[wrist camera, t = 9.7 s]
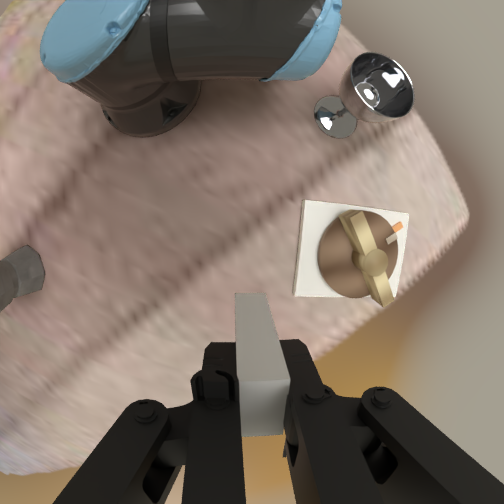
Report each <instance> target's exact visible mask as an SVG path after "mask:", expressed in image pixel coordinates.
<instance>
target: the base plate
mask: <svg viewBox="0 0 504 504" xmlns="http://www.w3.org/2000/svg"><path fill="white" fill-rule="evenodd" d="M349 209H353V210H364V211H371V212H374V213H377V214H379V215H381V216H382V217H383V218H385V219H386V220H387V221H388V222H389V224H390V225H391V226H392V228H393V230H394V232H396V235H397V237H398V239H397V242H398V258H397V263H396V266H395V269H394V271H393V273H392V275H391V277H390V278H389V280H388V281H389V284H390V287H391V290H392V294H393V297H396V292H397V288H398V283H399V278H400V273H401V267H402V262H403V256H404V250H405V243H406V236H407V228H408V220H409V214H407V213H401V212H395V211H388V210H382V209H375V208H368V207H361V206H353V205H346V204H338V203H329V202H321V201H312V200H303V201H302V213H301V223H300V234H299V244H298V253H297V262H296V271H295V280H294V288H293V294H294V296H305V297H345V296H342V295H340V294H338V293H337V292H335V291H334V290H333V289H332V288H331V287H330V286H329V285H328V284H327V283H326V282H325V280H324V279H323V277H322V275H321V273H320V270H319V266H318V247H319V243H320V240H321V238H322V235H323V233H324V232H325V230H326V228H327V227H328V226H329V225H330V223H331V222H332V221H333V220H335V219H336V218H337V217H339V216H338V215H340V214H342V213H344V212H345V211H347V210H349ZM366 297H371V295H369V296H366Z"/></svg>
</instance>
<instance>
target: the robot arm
mask: <svg viewBox="0 0 504 504" xmlns="http://www.w3.org/2000/svg"><path fill="white" fill-rule="evenodd" d="M341 7H342V0H66V1H65V2H64V3H63V4H62V5H61V6H60V7H59V8H58V9H57V11H56V12H55V13H54V15H53V16H52V18H51V19H50V21H49V23H48V25H47V27H46V29H45V31H44V33H43V36H42V40H41V44H40V57H41V61H42V63H43V65H44V66H45V68H46V69H47V70H49V71H50V72H51V73H53V74H54V75H55V76H56V77H57V79H58V80H59V81H60V82H63V83H67V84H69V85H70V86H72V87H74V88H75V89H77V90H79V91H81V92H82V93H84V94H86V95H87V96H89V97H91V98H92V99H94V100H95V101H97V102H99V103H100V105H101V107H102V110H103V112H104V115H105V117H106V118H107V120H108V121H109V122H110V124H111V125H112V126H114V127H115V128H116V129H118V130H120V131H122V132H123V133H125V134H128V135H131V136H135V137H150V136H155V135H159V134H161V133H164V132H166V131H168V130H170V129H172V128H173V127H175V126H176V125H178V124H179V123H180V122H181V121H183V120H184V119H185V118H186V117H187V115H188V114H189V113H190V112H191V110H192V109H193V107H194V106H195V104H196V102H197V99H198V97H199V93H200V86H201V82H200V80H209V79H258V80H259V81H263V82H266V81H271V80H292V81H297V80H302V79H305V78H307V77H308V76H311V75H313V74H314V73H315V72H316V71H317V70H318V69H319V68H320V67H321V66H322V65H323V63H324V62H325V60H326V59H327V57H328V55H329V53H330V52H331V49H332V47H333V45H334V43H335V40H336V37H337V34H338V31H339V27H340V23H341V15H340V14H339V12H340V10H341ZM235 334H236V342H211V343H210V344H209V345H208V346H207V347H206V349H205V352H204V359H203V366H202V370H200V371H198V372H197V373H196V374H194V375H193V377H192V379H191V387H192V394H193V401H191V402H190V403H188V404H186V405H183V406H179V407H174V408H166V407H165V406H164V405H163V404H162V403H160V402H158V401H156V400H150V399H144V400H138V401H136V402H133V403H131V404H130V405H129V406H128V407H127V408H126V409H125V410H124V411H123V413H122V414H121V415H120V416H119V418H118V419H117V420H116V422H115V423H114V424H113V426H112V427H111V428H110V429H109V431H108V432H107V433H106V435H105V436H104V437H103V438H102V440H101V441H100V442H99V444H98V445H97V446H96V448H95V449H94V450H93V451H92V453H91V454H90V455H89V457H88V458H87V459H86V461H85V462H84V463H83V464H82V466H81V467H80V468H79V470H78V471H77V472H76V474H75V475H74V477H72V479H71V480H70V481H69V483H68V484H67V485H66V487H65V488H64V489H63V491H62V492H61V493H60V495H59V496H58V497H57V498H56V500H55V501H54V503H53V504H164V503H165V501H166V499H167V497H168V495H169V493H170V491H171V489H172V486H173V484H174V482H175V480H176V478H177V476H178V474H179V472H180V469H181V467H182V465H185V474H184V483H183V494H182V503H181V504H246V497H245V482H244V468H243V452H242V437H249V436H269V435H280V434H283V429H285V434H286V440H285V446H284V451H283V457H286V455H287V460H288V465H289V470H290V475H291V480H292V484H293V490H294V494H295V499H296V504H504V484H503V483H501V482H500V481H499V480H498V479H497V478H495V477H494V476H493V475H492V474H491V473H489V472H488V471H487V470H486V469H485V468H483V467H482V466H481V465H480V464H479V463H478V462H476V461H475V460H474V459H473V458H472V457H471V456H469V455H468V454H467V453H466V452H464V450H462V449H461V448H460V447H459V446H458V445H456V444H455V443H454V442H453V441H452V440H450V439H449V438H448V437H447V436H446V435H445V434H444V433H442V432H441V431H440V430H439V429H438V428H437V427H436V426H434V425H433V424H432V423H431V422H430V421H429V420H427V419H426V418H425V417H424V416H423V415H422V414H421V413H419V412H418V411H417V410H416V409H415V408H414V407H413V406H411V405H410V404H409V403H408V402H407V401H406V400H405V399H403V398H402V397H401V396H400V395H399V394H398V393H397V392H395V391H393V390H392V389H389V388H386V387H373V388H369V389H368V390H366V391H365V392H364V393H363V395H362V397H361V398H353V397H342V396H338V395H336V394H335V392H334V391H333V390H332V389H331V388H330V387H328V386H326V385H324V384H323V383H322V381H321V378H320V376H319V374H318V371H317V369H316V367H315V364H314V362H313V361H312V357H311V355H310V353H309V351H308V348H307V346H306V345H305V344H304V343H303V342H301V341H300V340H299V339H292V340H279V338H278V335H277V331H276V328H275V324H274V321H273V317H272V314H271V311H270V307H269V304H268V300H267V297H266V293H235Z"/></svg>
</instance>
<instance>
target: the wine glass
mask: <svg viewBox="0 0 504 504" xmlns="http://www.w3.org/2000/svg"><path fill="white" fill-rule="evenodd" d="M413 104H414V89H413V85H412V83H411V80H410V78H409V77H408V75H407V73H406V72H405V71H404V69H403V68H402V67H401V66H400V65H399V64H398V63H396V62H395V61H394V60H393V59H391V58H390V57H388V56H386V55H384V54H381V53H376V52H366V53H363V54H361V55H359V56H358V57H357V58H355V59H354V60H353V61H352V62H351V63H350V65H349V66H348V67H347V68H346V70H345V72H344V74H343V75H342V78H341V81H340V84H339V97H338V96H326V97H323V98H322V99H320V100H319V101H318V102H317V104H316V106H315V109H314V116H315V120H316V123H317V125H318V126H319V128H320V129H321V130H322V131H323V132H324V133H326V134H327V135H329V136H331V137H334V138H345V137H348V136H350V135H351V134H352V133H353V132H354V131H355V129H356V126H357V119H358V120H360V121H363V122H368V123H383V122H389V121H392V120H395V119H398V118H400V117H402V116H405V115H406V114H407V113H409V112H410V110H411V109H412V107H413Z"/></svg>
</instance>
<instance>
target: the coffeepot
mask: <svg viewBox="0 0 504 504" xmlns="http://www.w3.org/2000/svg"><path fill="white" fill-rule="evenodd" d="M44 275H45V272H44V267H43V264H42V261H41V259H40V257H39V254H38V253H37V252H36V251H35V250H34V249H32V248H31V247H29V246H28V245H26V246H24V247H22V248H20V249H18V250H16V251H14V252H13V253H11V254H10V255H8V256H7V257H5V258H4V259H2V260H1V261H0V312H1V311H2V310H3V309H4V308H5V307H6V306H7V305H8V304H9V303H11V302H12V299H13V298H16V297H19V296H22V295H25V294H29V293H32V292H35V291H38V290H41V289H42V285H43V282H44Z"/></svg>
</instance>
